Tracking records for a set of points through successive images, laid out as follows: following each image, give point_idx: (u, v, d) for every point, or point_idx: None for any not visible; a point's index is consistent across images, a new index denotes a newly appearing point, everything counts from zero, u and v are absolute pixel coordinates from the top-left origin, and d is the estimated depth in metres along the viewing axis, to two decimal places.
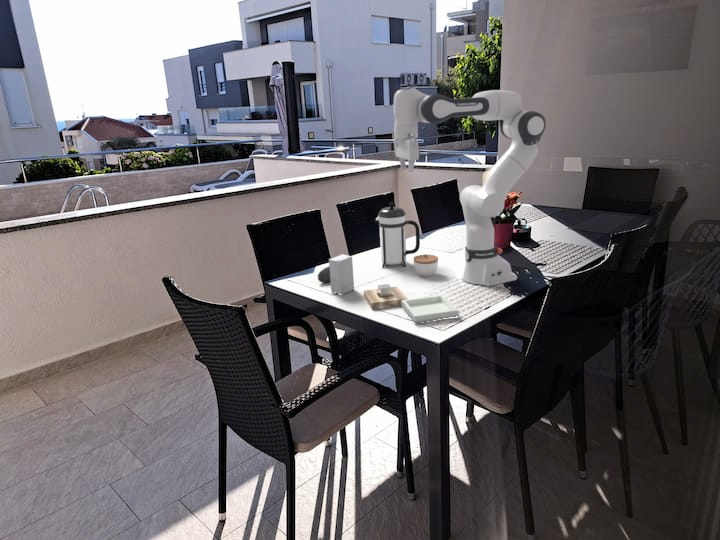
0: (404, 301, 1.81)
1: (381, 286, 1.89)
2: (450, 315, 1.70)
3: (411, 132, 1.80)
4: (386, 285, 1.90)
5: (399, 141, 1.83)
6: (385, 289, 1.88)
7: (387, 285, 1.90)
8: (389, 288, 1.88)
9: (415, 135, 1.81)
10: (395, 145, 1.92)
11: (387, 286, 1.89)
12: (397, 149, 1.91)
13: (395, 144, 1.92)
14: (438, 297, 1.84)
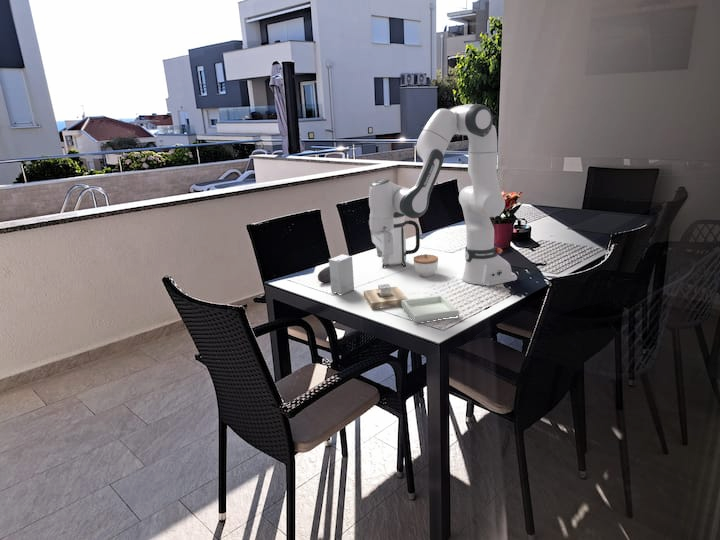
0: (404, 301, 1.81)
1: (381, 286, 1.89)
2: (450, 315, 1.70)
3: (386, 225, 1.78)
4: (386, 285, 1.90)
5: (374, 232, 1.81)
6: (385, 289, 1.88)
7: (387, 285, 1.90)
8: (389, 288, 1.88)
9: (390, 227, 1.79)
10: (372, 232, 1.90)
11: (387, 286, 1.89)
12: (373, 237, 1.89)
13: (372, 231, 1.90)
14: (438, 297, 1.84)
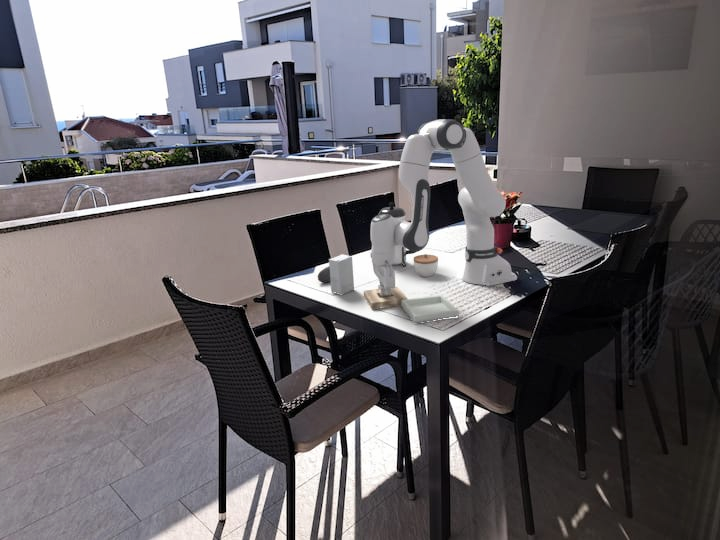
0: (404, 301, 1.81)
1: (381, 286, 1.89)
2: (450, 315, 1.70)
3: (388, 259, 1.82)
4: None
5: (376, 266, 1.85)
6: None
7: None
8: None
9: (392, 261, 1.83)
10: (373, 264, 1.94)
11: None
12: (375, 268, 1.93)
13: None
14: (438, 297, 1.84)
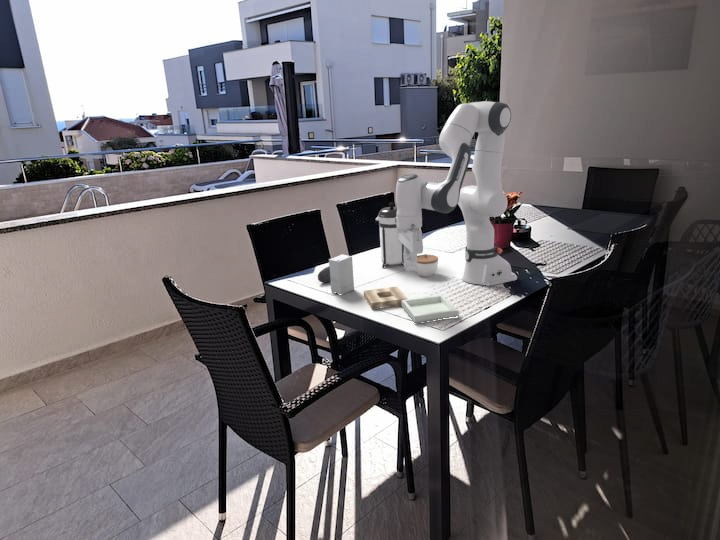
0: (404, 301, 1.81)
1: (406, 253, 1.76)
2: (450, 315, 1.70)
3: (415, 222, 1.69)
4: None
5: (402, 230, 1.72)
6: None
7: None
8: None
9: (419, 225, 1.70)
10: (398, 230, 1.81)
11: None
12: (400, 235, 1.80)
13: (398, 229, 1.81)
14: (438, 297, 1.84)
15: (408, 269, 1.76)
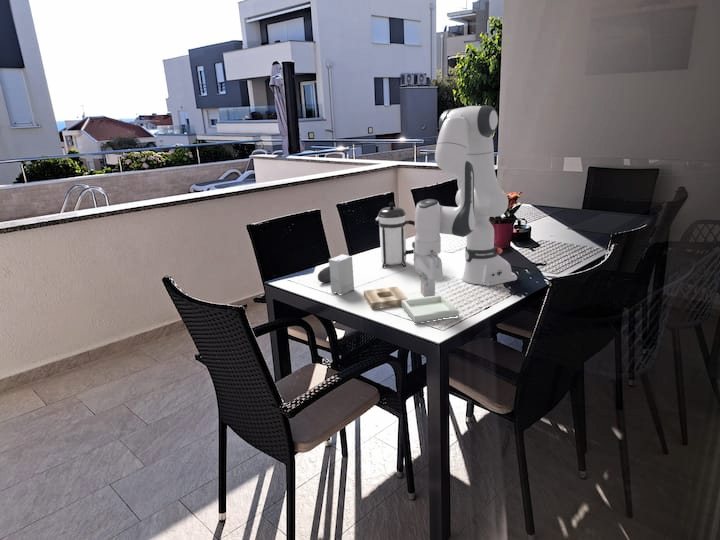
0: (404, 301, 1.81)
1: (424, 278, 1.73)
2: (450, 315, 1.70)
3: (434, 248, 1.66)
4: None
5: (420, 256, 1.69)
6: None
7: None
8: None
9: (438, 251, 1.67)
10: (415, 254, 1.78)
11: None
12: (417, 259, 1.77)
13: (415, 253, 1.78)
14: (438, 297, 1.84)
15: (425, 295, 1.73)
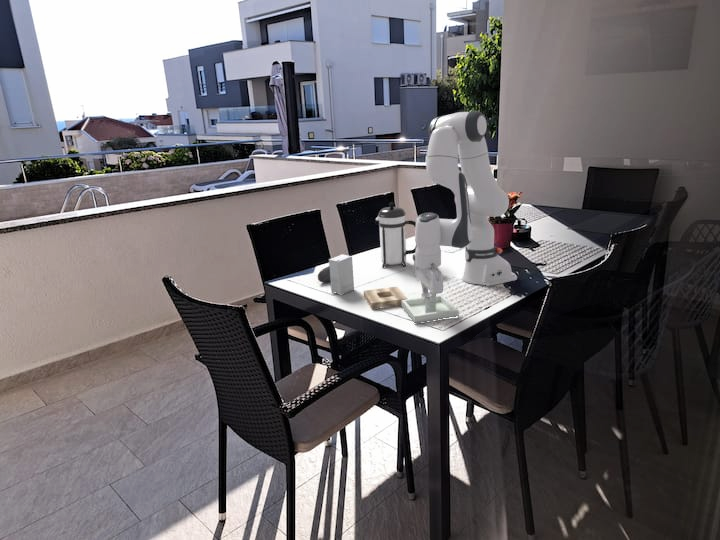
0: (404, 301, 1.81)
1: (425, 294, 1.75)
2: (450, 315, 1.70)
3: (434, 262, 1.67)
4: None
5: (421, 269, 1.71)
6: None
7: None
8: None
9: (438, 264, 1.69)
10: (415, 266, 1.80)
11: None
12: (418, 272, 1.79)
13: (416, 265, 1.79)
14: (438, 297, 1.84)
15: (427, 311, 1.75)
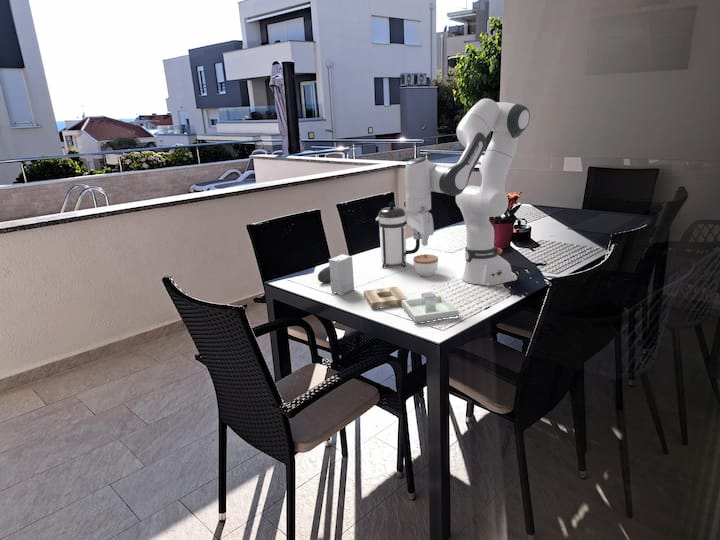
0: (404, 301, 1.81)
1: (425, 294, 1.75)
2: (450, 315, 1.70)
3: (424, 205, 1.71)
4: (430, 293, 1.76)
5: (412, 213, 1.74)
6: (430, 298, 1.74)
7: (431, 293, 1.76)
8: (434, 297, 1.74)
9: (428, 207, 1.72)
10: (406, 213, 1.83)
11: (431, 294, 1.75)
12: (409, 218, 1.82)
13: (407, 212, 1.83)
14: (438, 297, 1.84)
15: (427, 311, 1.75)
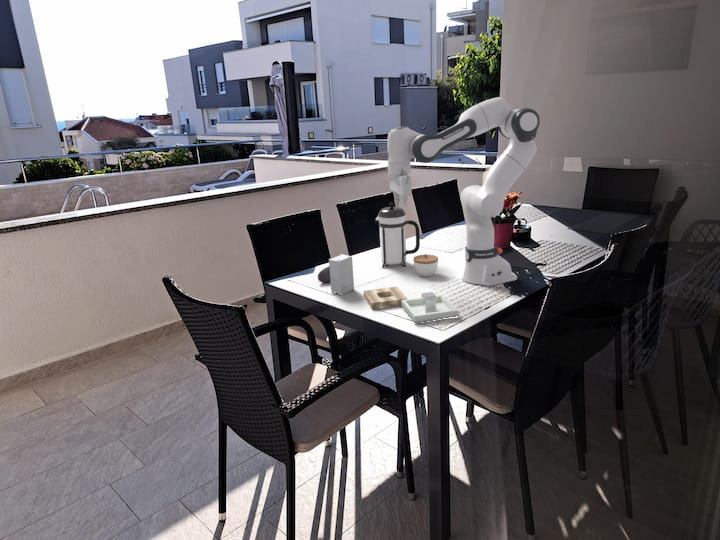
0: (404, 301, 1.81)
1: (425, 294, 1.75)
2: (450, 315, 1.70)
3: (404, 169, 1.89)
4: (430, 293, 1.76)
5: (393, 177, 1.93)
6: (430, 298, 1.74)
7: (431, 293, 1.76)
8: (434, 297, 1.74)
9: (408, 171, 1.91)
10: (389, 179, 2.02)
11: (431, 294, 1.75)
12: (391, 183, 2.01)
13: (390, 178, 2.02)
14: (438, 297, 1.84)
15: (427, 311, 1.75)
